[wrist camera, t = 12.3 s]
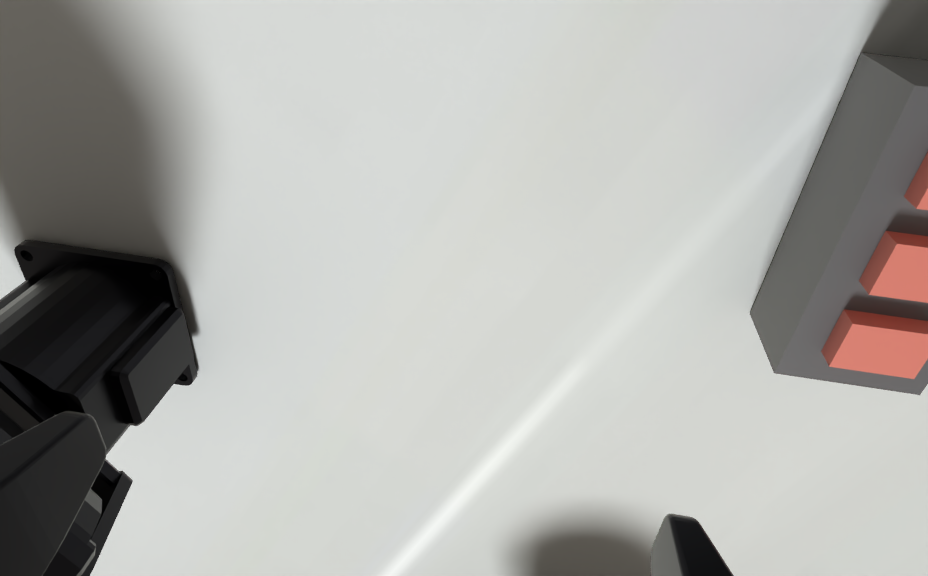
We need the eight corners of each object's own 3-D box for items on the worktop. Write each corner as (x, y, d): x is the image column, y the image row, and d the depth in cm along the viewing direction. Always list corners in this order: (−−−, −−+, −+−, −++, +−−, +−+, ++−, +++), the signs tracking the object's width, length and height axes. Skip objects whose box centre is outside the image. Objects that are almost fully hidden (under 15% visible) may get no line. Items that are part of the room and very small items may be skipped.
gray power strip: (877, 331, 21) (930, 411, 18) (749, 313, 22) (780, 388, 19) (1030, 71, 16) (1142, 118, 13) (861, 52, 17) (929, 94, 14)
